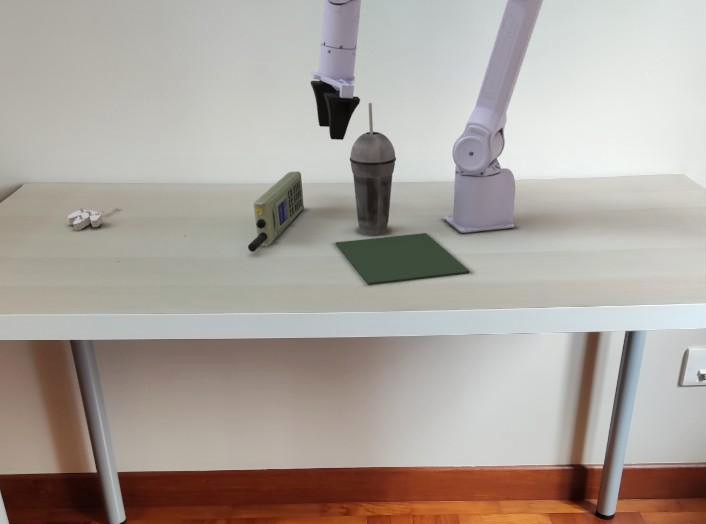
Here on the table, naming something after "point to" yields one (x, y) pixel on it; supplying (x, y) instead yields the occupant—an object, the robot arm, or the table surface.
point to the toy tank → (85, 218)
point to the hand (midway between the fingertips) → (330, 132)
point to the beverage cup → (372, 179)
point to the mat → (400, 258)
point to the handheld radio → (277, 209)
